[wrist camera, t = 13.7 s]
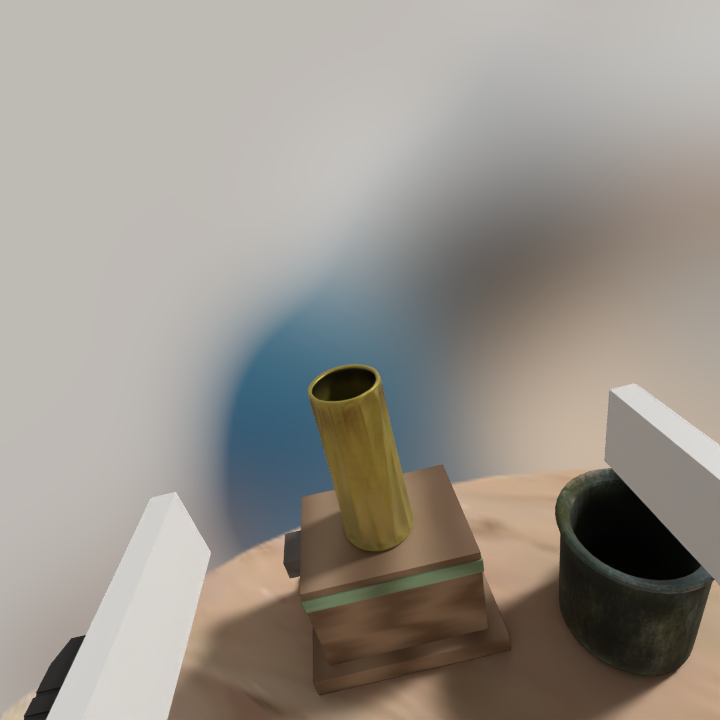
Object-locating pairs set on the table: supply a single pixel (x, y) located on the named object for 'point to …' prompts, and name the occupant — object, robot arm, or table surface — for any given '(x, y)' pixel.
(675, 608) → the mug
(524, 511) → the table surface
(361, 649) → the stand
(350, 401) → the vase
